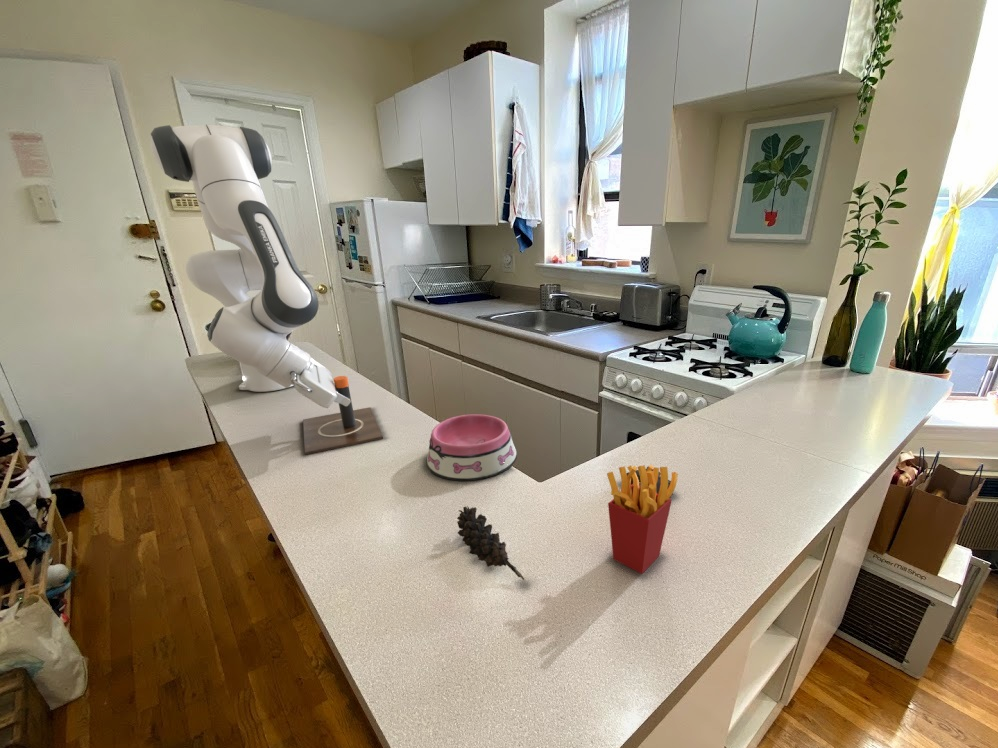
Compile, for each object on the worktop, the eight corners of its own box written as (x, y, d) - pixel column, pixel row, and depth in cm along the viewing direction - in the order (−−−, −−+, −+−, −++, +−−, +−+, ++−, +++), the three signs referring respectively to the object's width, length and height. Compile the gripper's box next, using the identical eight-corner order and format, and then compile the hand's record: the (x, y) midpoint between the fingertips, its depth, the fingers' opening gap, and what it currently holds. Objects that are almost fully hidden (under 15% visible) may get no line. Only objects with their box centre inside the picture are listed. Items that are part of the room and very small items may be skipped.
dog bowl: (534, 461, 95) (533, 431, 92) (451, 492, 85) (447, 459, 82) (489, 431, 108) (487, 404, 106) (413, 454, 98) (408, 425, 95)
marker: (342, 424, 111) (332, 377, 107) (355, 422, 113) (346, 375, 108) (343, 428, 109) (333, 380, 104) (356, 426, 110) (347, 378, 105)
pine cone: (447, 533, 74) (444, 505, 72) (476, 521, 76) (473, 494, 74) (499, 601, 61) (496, 569, 58) (532, 584, 63) (530, 554, 61)
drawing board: (303, 421, 115) (302, 418, 115) (370, 409, 122) (370, 406, 122) (305, 455, 99) (304, 451, 99) (383, 438, 106) (382, 435, 105)
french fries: (644, 581, 63) (651, 487, 57) (595, 555, 68) (597, 467, 62) (674, 548, 70) (684, 461, 64) (627, 526, 75) (632, 443, 69)
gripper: (300, 367, 92) (361, 404, 100) (299, 345, 109) (351, 377, 117) (281, 392, 92) (343, 427, 100) (282, 366, 109) (336, 397, 117)
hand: (348, 400), depth 109 cm, fingers closed on marker, 3 cm apart
